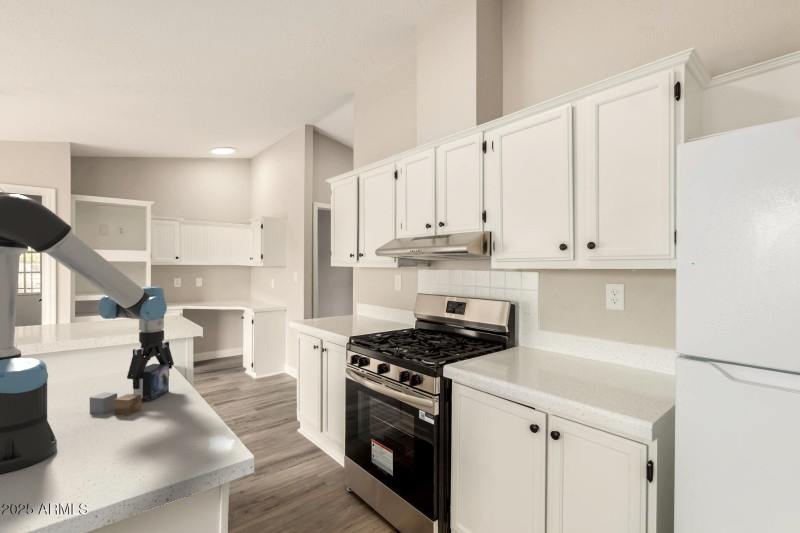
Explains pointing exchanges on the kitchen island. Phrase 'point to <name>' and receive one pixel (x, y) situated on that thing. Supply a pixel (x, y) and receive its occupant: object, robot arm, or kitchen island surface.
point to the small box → (155, 381)
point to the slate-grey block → (102, 403)
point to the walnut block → (127, 404)
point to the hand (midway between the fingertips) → (152, 392)
